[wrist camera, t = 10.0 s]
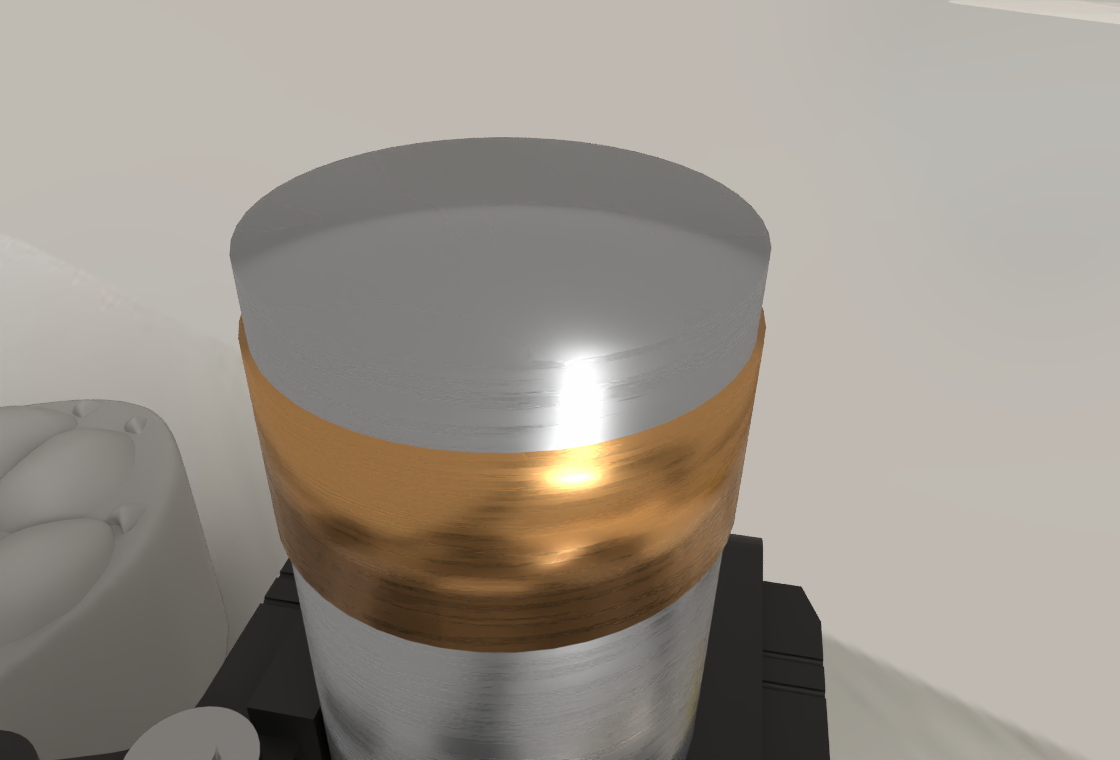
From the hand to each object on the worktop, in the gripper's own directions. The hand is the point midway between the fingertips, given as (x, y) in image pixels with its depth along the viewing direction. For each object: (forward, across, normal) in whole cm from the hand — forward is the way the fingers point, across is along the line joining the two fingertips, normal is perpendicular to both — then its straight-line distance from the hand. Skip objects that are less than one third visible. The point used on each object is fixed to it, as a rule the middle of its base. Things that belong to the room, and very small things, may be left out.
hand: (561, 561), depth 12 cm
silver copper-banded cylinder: (-3, 0, +8) cm, 8 cm away
